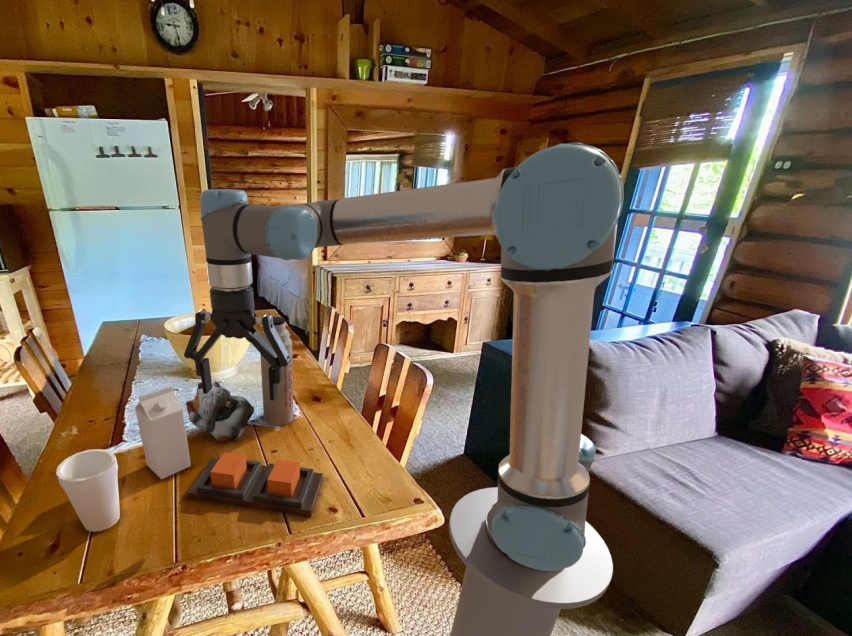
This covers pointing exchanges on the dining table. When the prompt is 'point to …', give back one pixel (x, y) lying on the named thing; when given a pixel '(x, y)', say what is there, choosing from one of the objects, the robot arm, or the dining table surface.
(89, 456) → the foam cup
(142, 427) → the milk carton
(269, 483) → the pad
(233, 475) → the pad
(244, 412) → the lucky cat figurine
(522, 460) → the robot arm
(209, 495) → the dark grey divided tray
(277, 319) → the thermos bottle
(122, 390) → the dining table surface
